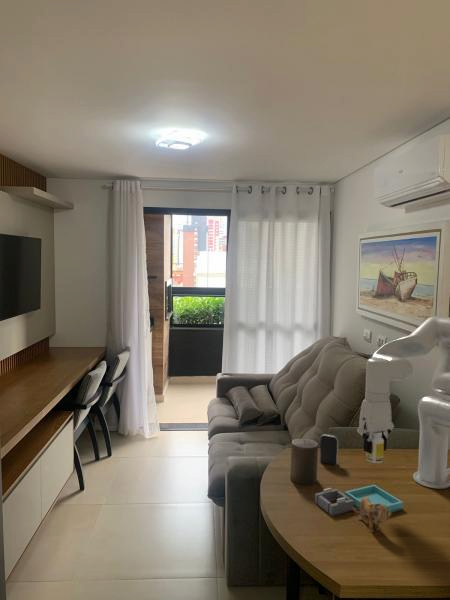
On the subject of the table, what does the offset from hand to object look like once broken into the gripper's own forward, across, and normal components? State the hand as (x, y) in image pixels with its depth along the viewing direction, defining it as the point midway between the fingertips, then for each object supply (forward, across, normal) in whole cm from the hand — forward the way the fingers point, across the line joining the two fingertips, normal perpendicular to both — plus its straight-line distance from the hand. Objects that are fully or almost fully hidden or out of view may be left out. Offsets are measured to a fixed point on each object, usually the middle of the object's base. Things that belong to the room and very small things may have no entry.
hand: (374, 449), depth 147 cm
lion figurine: (+19, +9, +9) cm, 23 cm away
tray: (+18, 0, 0) cm, 18 cm away
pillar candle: (+19, +11, -24) cm, 32 cm away
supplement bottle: (+4, 0, 0) cm, 4 cm away
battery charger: (+19, -7, -32) cm, 38 cm away
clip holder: (+18, +13, -4) cm, 23 cm away
